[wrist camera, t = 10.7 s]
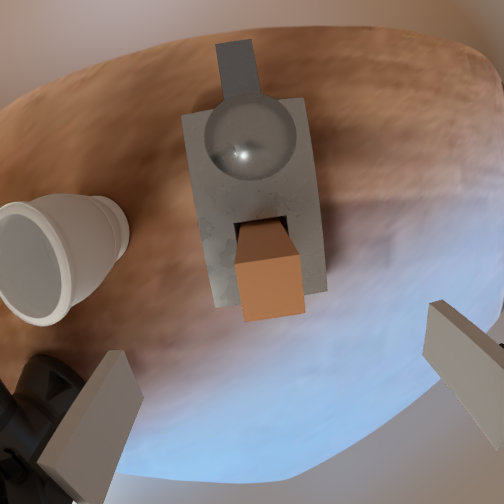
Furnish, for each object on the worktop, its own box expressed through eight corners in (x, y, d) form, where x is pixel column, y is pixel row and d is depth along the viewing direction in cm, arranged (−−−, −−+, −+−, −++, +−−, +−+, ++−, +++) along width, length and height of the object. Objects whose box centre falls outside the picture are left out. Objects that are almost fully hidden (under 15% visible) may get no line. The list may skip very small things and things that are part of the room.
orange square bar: (246, 257, 34) (244, 322, 19) (240, 222, 33) (234, 264, 18) (282, 252, 34) (305, 313, 19) (277, 217, 33) (299, 254, 18)
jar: (54, 232, 33) (-26, 267, 18) (94, 168, 31) (8, 174, 16) (109, 287, 35) (45, 349, 20) (155, 227, 33) (93, 269, 18)
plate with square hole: (218, 294, 35) (194, 401, 18) (184, 100, 29) (120, 34, 12) (320, 279, 35) (376, 373, 17) (294, 83, 29) (339, 2, 11)
